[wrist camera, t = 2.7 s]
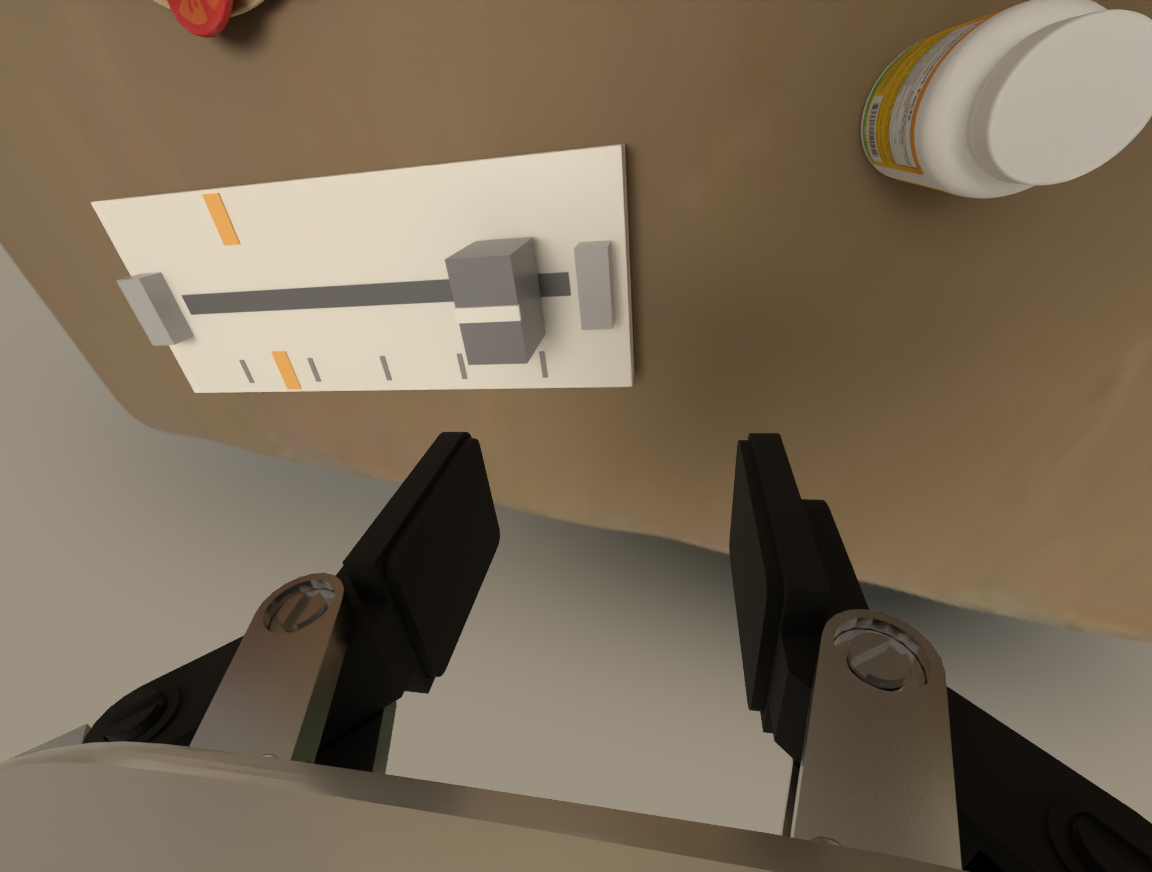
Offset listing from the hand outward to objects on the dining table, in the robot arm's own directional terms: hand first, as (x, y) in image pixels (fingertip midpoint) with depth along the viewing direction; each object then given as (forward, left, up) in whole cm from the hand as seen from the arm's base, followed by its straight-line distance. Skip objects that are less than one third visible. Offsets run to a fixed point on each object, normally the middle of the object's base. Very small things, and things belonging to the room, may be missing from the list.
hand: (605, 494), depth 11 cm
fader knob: (+7, 0, -17) cm, 18 cm away
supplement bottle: (-12, -6, -20) cm, 24 cm away
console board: (+16, 0, -19) cm, 25 cm away
